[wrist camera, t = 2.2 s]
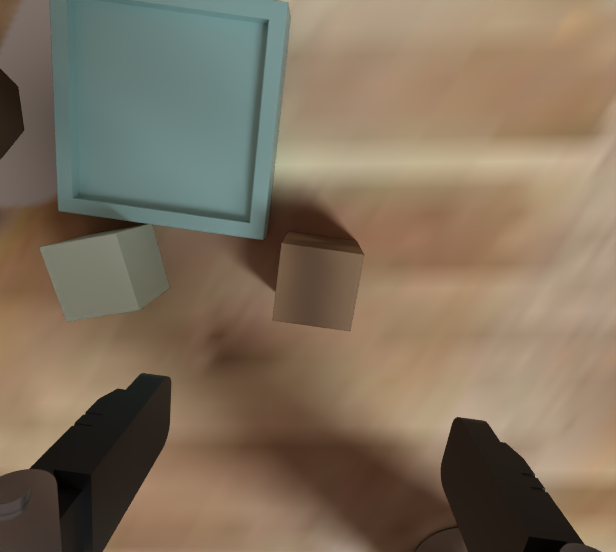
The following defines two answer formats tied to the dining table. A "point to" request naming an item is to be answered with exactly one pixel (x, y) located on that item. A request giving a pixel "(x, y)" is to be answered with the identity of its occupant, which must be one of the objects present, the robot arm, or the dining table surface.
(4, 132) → the beer bottle
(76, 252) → the sage block
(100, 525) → the robot arm
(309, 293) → the walnut block
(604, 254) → the dining table surface
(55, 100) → the teal tray
